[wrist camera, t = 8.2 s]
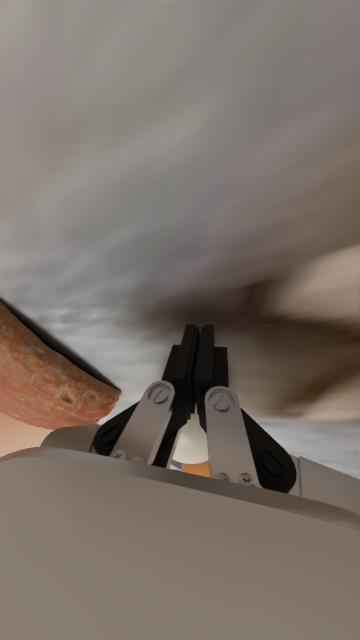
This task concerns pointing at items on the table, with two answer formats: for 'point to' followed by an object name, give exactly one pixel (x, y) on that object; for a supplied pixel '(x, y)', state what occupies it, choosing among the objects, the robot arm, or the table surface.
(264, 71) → the table surface
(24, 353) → the ceramic shard
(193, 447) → the cue ball
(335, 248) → the table surface
